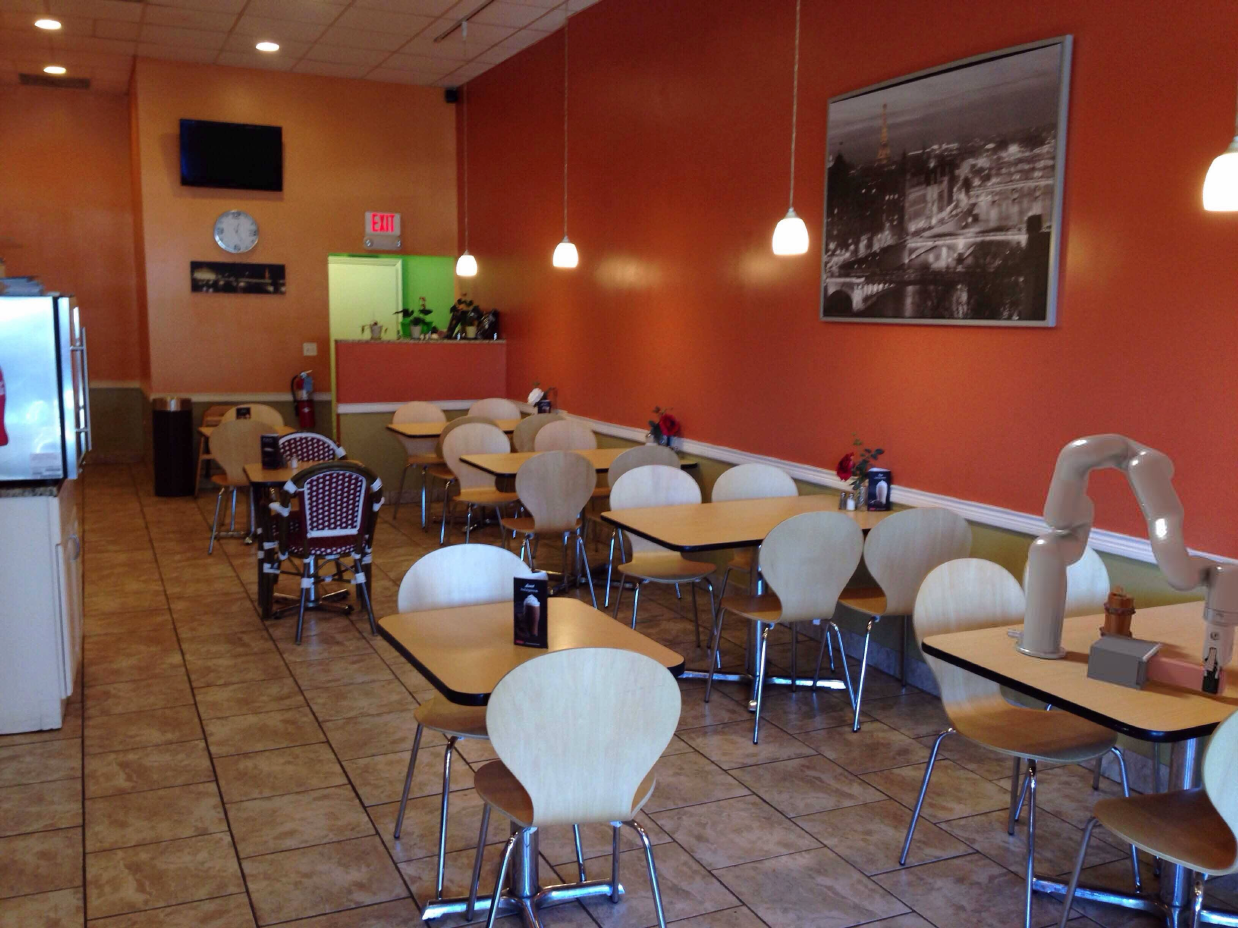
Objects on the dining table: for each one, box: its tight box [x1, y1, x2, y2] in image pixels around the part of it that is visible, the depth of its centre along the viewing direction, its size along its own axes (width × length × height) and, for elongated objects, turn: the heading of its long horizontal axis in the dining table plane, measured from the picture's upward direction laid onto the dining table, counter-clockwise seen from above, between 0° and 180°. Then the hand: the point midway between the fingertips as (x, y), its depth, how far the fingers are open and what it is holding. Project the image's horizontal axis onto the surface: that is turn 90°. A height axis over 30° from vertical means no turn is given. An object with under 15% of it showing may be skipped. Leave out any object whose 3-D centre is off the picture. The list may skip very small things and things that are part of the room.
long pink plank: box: [1147, 655, 1228, 697], centre depth 249 cm, size 18×3×5 cm, turn 50°
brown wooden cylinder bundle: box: [1098, 585, 1137, 638], centre depth 283 cm, size 15×8×15 cm, turn 160°
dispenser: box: [1086, 632, 1164, 691], centre depth 257 cm, size 13×16×8 cm
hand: (1211, 690), depth 245 cm, fingers closed on long pink plank, 3 cm apart
